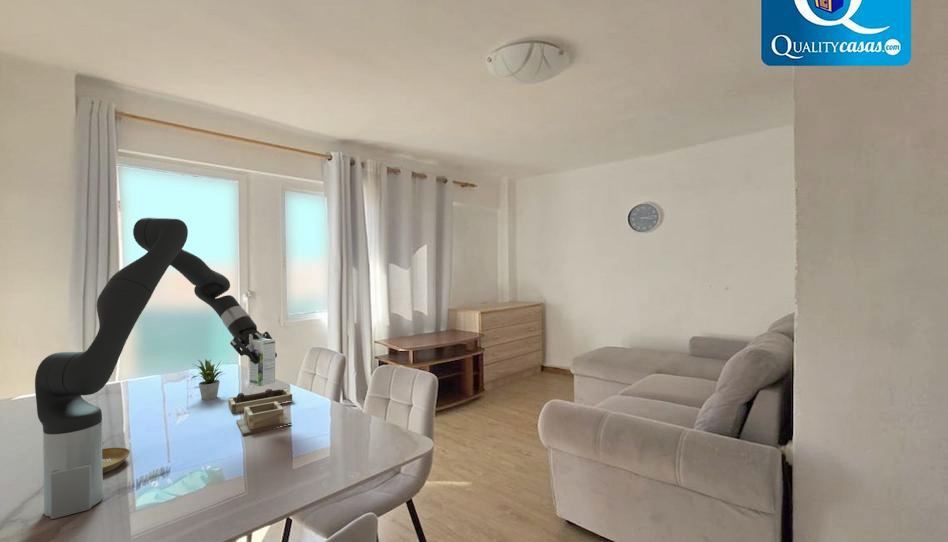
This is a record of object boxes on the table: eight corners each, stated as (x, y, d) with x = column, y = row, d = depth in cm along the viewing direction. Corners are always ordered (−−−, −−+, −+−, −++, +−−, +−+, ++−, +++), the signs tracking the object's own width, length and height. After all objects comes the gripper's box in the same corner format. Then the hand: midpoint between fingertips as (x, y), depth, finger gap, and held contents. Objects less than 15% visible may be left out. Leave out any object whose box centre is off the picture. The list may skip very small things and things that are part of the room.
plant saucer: (133, 469, 107) (133, 459, 107) (51, 491, 97) (51, 480, 97) (127, 451, 118) (127, 442, 117) (53, 469, 107) (53, 459, 107)
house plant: (175, 401, 161) (174, 359, 161) (207, 391, 174) (207, 352, 174) (203, 405, 157) (203, 361, 157) (234, 394, 170) (234, 354, 170)
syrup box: (248, 384, 136) (248, 340, 136) (265, 380, 141) (264, 337, 141) (259, 387, 133) (259, 341, 133) (276, 382, 138) (276, 338, 138)
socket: (291, 425, 136) (291, 409, 136) (242, 436, 127) (242, 418, 127) (281, 413, 147) (281, 398, 147) (236, 422, 139) (236, 406, 139)
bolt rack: (292, 402, 159) (292, 394, 159) (232, 413, 147) (232, 405, 147) (285, 395, 168) (285, 388, 168) (228, 405, 156) (228, 397, 156)
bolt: (280, 383, 163) (237, 390, 153) (284, 392, 160) (240, 400, 150) (278, 394, 166) (236, 402, 156) (282, 403, 162) (238, 412, 152)
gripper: (225, 317, 132) (255, 357, 129) (261, 312, 146) (289, 348, 142) (213, 333, 134) (242, 372, 131) (250, 327, 148) (277, 362, 144)
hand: (266, 359), depth 137 cm, fingers closed on syrup box, 6 cm apart
